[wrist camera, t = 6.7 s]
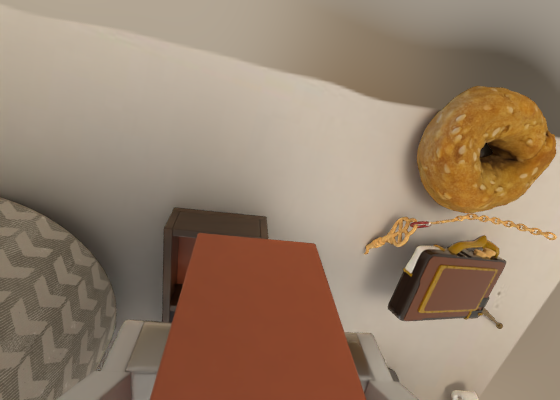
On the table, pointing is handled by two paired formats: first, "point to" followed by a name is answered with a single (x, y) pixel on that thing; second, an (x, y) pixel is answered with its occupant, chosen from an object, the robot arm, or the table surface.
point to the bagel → (471, 139)
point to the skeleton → (464, 395)
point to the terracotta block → (256, 327)
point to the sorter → (182, 240)
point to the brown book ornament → (446, 274)
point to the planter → (48, 307)
